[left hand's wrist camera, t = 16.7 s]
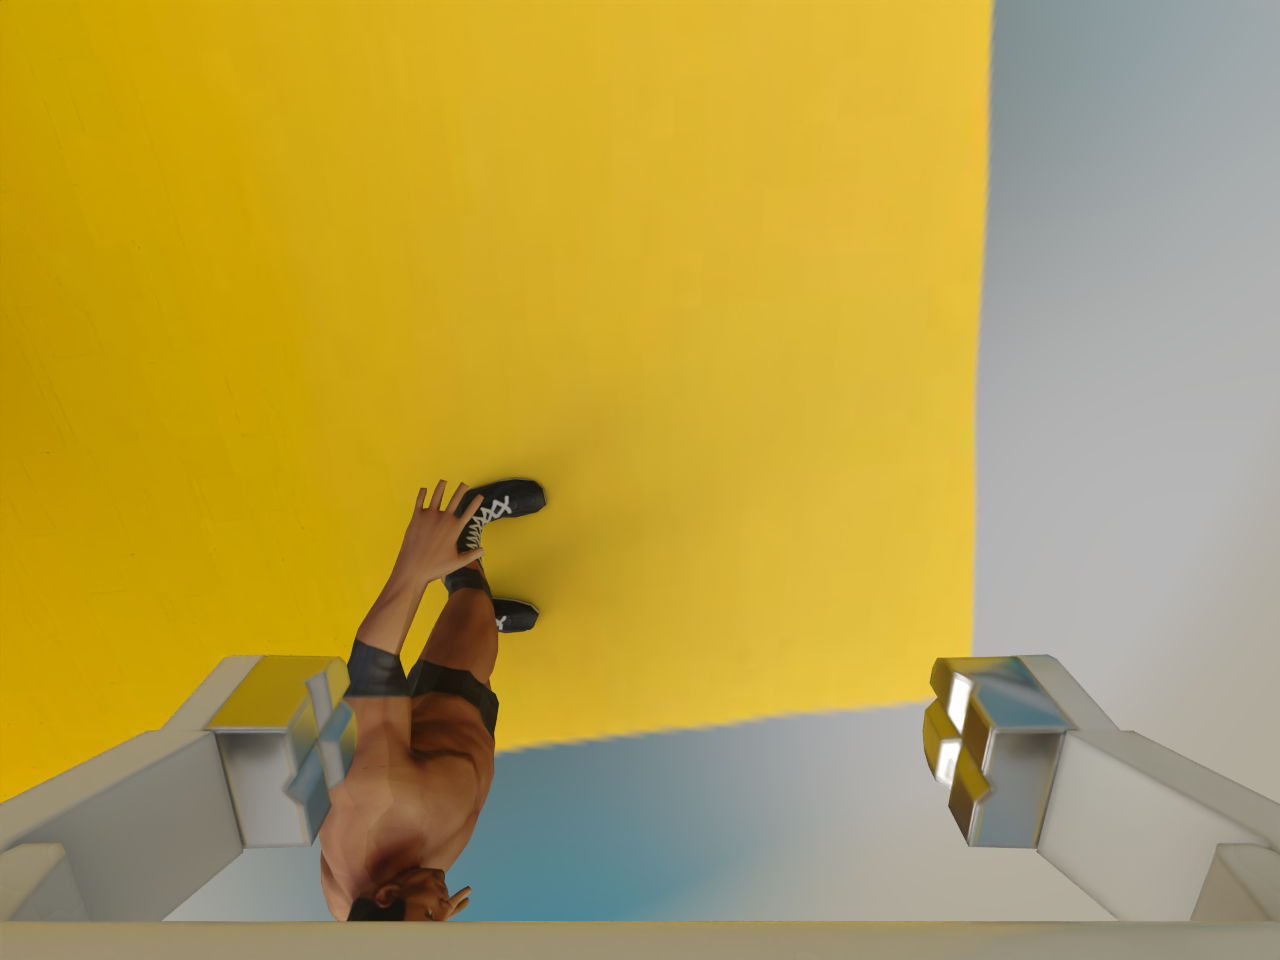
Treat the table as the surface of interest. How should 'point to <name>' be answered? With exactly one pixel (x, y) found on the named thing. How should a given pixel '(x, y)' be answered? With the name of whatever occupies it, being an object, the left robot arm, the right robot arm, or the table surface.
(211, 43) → the table surface
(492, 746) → the figurine
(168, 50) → the table surface
